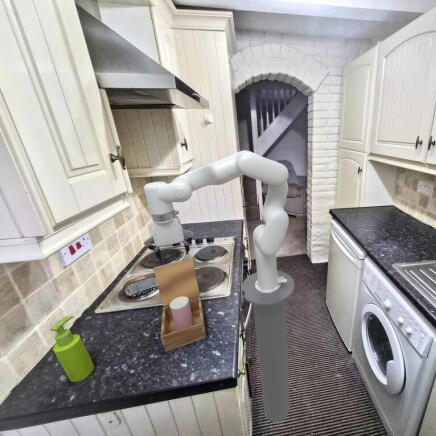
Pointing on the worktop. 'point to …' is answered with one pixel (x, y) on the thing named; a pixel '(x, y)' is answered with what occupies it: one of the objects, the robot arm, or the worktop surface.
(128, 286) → the tin
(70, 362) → the soap dispenser
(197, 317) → the chest
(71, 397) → the worktop surface
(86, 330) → the worktop surface
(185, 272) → the lid
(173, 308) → the tube
